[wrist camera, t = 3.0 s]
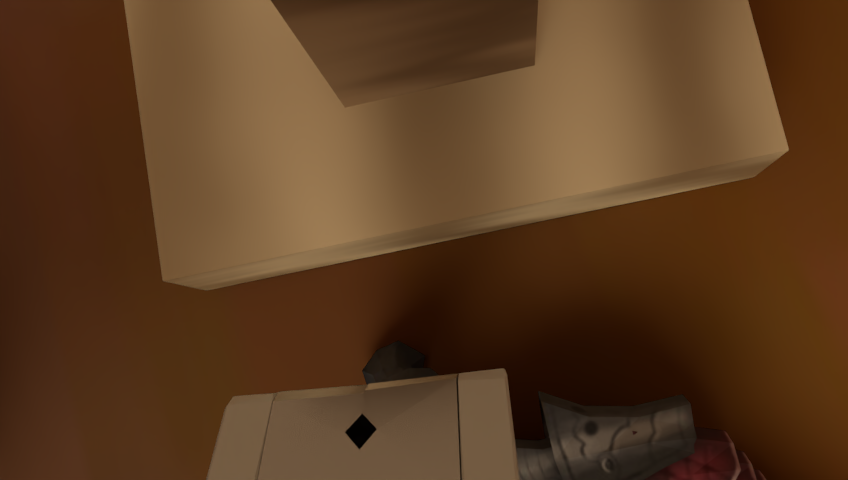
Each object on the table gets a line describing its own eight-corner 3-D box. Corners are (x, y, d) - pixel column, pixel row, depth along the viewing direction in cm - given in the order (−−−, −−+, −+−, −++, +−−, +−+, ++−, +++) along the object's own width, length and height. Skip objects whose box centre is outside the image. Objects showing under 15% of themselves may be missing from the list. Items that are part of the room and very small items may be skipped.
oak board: (669, -144, 24) (690, -213, 21) (753, 177, 23) (788, 150, 20) (160, -20, 26) (114, -70, 23) (206, 290, 24) (162, 280, 21)
